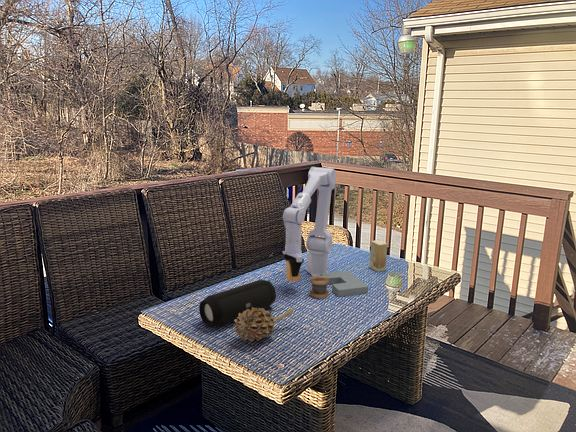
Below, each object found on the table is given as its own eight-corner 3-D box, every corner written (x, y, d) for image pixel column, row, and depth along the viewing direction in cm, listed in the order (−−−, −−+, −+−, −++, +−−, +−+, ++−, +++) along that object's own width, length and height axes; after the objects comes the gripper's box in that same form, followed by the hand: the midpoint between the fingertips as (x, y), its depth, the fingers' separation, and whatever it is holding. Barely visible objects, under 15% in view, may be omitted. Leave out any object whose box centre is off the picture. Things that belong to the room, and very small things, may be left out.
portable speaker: (215, 333, 140) (214, 303, 137) (198, 322, 147) (196, 293, 144) (277, 309, 157) (278, 282, 154) (259, 300, 164) (259, 274, 161)
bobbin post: (307, 291, 172) (307, 276, 170) (324, 289, 174) (324, 274, 172) (313, 299, 165) (314, 283, 164) (331, 296, 167) (332, 281, 166)
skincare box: (368, 267, 198) (370, 240, 195) (377, 266, 200) (378, 239, 197) (377, 272, 192) (379, 244, 190) (386, 270, 194) (387, 243, 191)
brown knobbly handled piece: (247, 354, 128) (247, 321, 126) (227, 341, 135) (226, 310, 133) (302, 328, 143) (302, 299, 141) (281, 318, 150) (281, 290, 148)
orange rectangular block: (286, 277, 174) (286, 260, 172) (296, 276, 175) (296, 259, 173) (289, 281, 170) (289, 263, 168) (299, 280, 171) (299, 262, 170)
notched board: (320, 279, 184) (320, 273, 184) (347, 276, 188) (347, 270, 187) (338, 296, 167) (338, 290, 167) (367, 292, 171) (368, 286, 170)
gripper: (277, 235, 174) (277, 268, 178) (289, 246, 161) (288, 282, 164) (295, 233, 176) (294, 266, 180) (308, 244, 163) (307, 280, 166)
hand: (293, 274), depth 172 cm, fingers closed on orange rectangular block, 4 cm apart
